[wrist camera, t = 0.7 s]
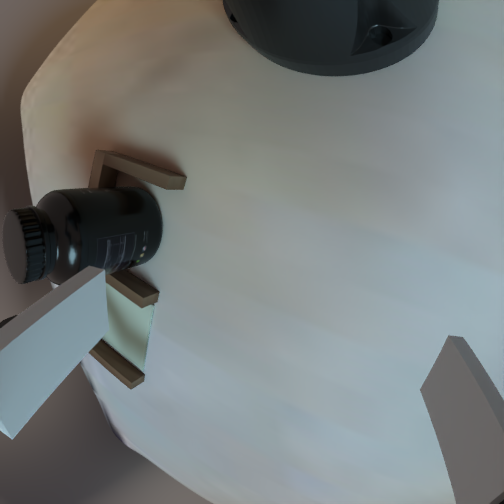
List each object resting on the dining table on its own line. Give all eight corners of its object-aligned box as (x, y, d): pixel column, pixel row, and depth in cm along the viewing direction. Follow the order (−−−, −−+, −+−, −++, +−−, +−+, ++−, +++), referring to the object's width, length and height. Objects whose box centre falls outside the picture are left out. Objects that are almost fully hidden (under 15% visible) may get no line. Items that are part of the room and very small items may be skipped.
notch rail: (112, 151, 26) (96, 149, 25) (186, 177, 23) (169, 176, 21) (87, 334, 33) (75, 339, 31) (143, 381, 29) (130, 389, 28)
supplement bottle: (104, 232, 28) (-7, 252, 18) (130, 171, 26) (5, 171, 15) (146, 280, 27) (27, 320, 16) (179, 217, 24) (40, 236, 13)
